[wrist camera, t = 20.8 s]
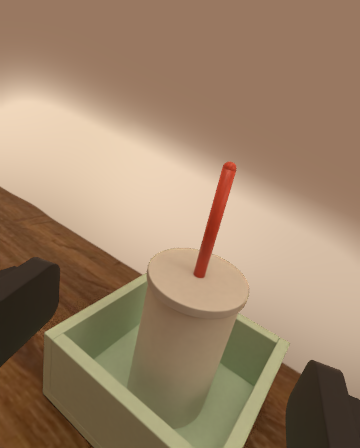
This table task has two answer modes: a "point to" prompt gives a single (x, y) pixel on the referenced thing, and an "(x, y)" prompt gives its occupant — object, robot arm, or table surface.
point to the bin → (120, 370)
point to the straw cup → (186, 321)
